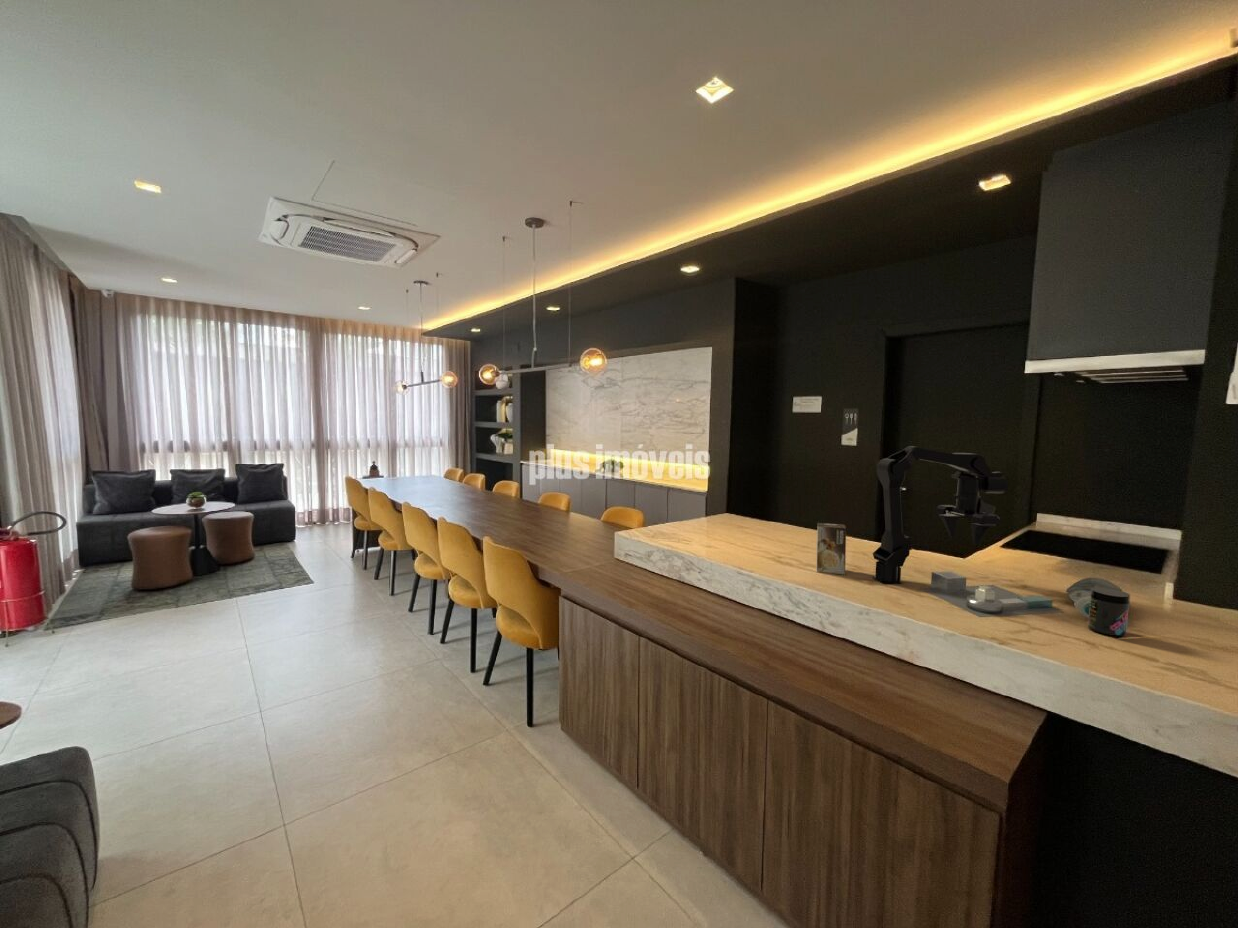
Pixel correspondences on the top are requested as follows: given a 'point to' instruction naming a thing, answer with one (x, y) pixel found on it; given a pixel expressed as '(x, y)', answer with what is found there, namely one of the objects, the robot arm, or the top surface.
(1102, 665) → the top surface
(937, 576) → the grey block
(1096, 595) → the supplement container
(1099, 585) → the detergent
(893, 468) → the robot arm
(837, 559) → the coffee box
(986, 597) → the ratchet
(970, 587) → the tool mat
